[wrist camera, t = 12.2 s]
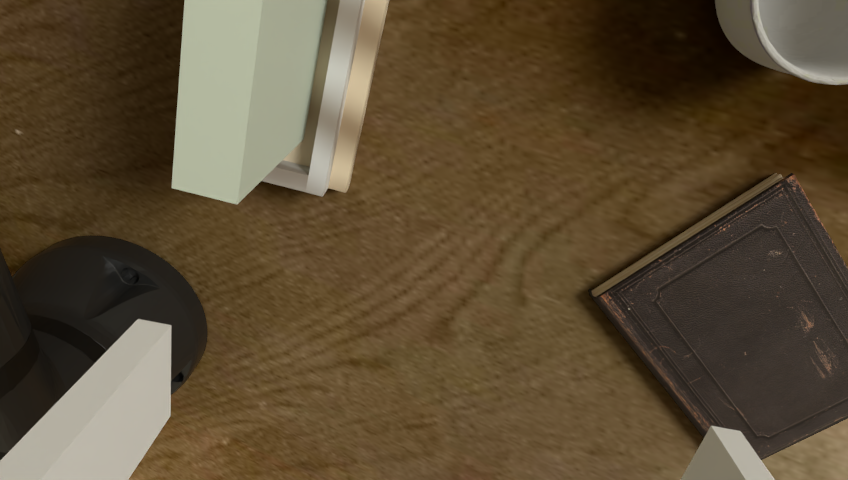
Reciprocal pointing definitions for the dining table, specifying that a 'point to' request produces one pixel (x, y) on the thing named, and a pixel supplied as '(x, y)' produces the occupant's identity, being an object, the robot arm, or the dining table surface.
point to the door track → (336, 99)
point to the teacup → (791, 35)
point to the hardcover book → (744, 318)
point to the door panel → (242, 91)
